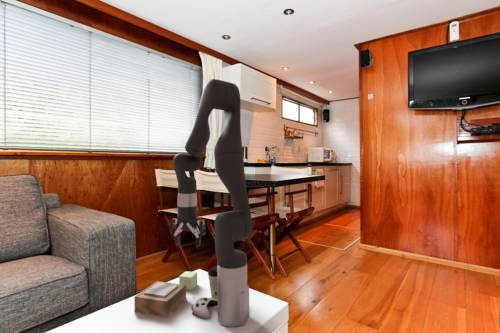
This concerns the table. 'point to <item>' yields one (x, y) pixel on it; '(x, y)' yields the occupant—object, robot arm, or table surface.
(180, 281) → the sage cube
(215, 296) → the coffee cup
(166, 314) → the walnut plinth
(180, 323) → the table surface
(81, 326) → the table surface
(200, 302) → the game controller
